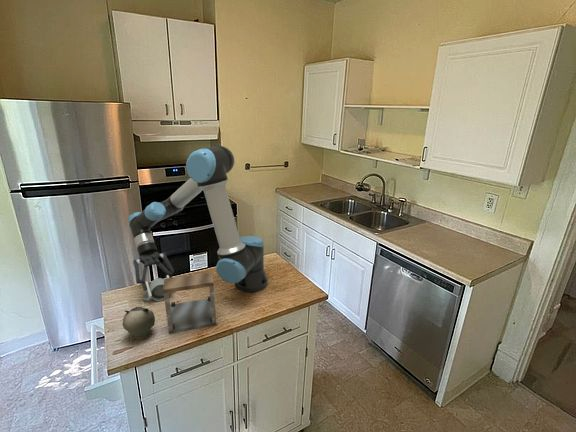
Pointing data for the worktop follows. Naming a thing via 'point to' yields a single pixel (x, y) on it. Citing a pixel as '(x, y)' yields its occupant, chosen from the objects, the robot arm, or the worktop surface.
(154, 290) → the ceramic mug
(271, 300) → the worktop surface
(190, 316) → the shelf
